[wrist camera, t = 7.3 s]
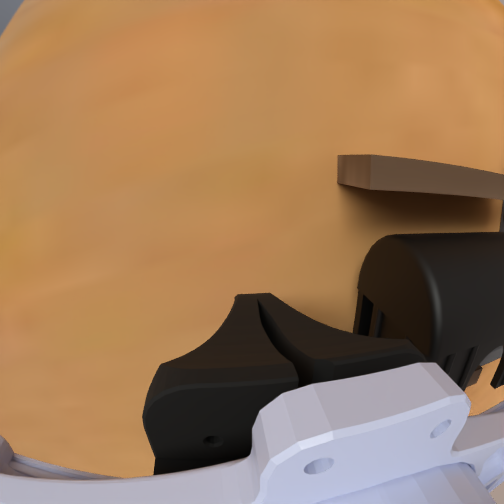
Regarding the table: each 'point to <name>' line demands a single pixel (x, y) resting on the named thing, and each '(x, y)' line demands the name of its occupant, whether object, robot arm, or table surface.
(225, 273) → the table surface
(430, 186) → the channel walls
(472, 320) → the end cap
